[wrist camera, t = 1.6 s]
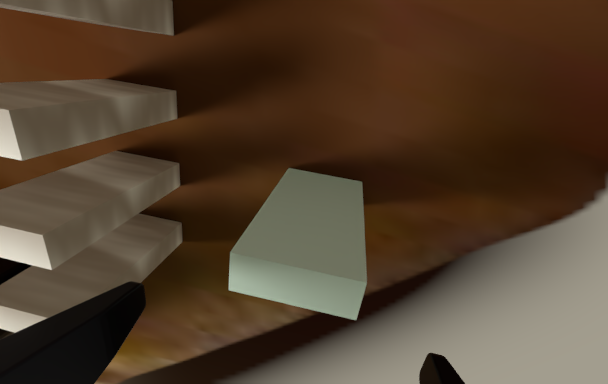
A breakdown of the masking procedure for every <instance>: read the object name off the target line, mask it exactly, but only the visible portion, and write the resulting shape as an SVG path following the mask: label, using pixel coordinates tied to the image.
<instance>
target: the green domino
mask: <svg viewBox="0 0 608 384" xmlns="http://www.w3.org/2000/svg"><path fill="white" fill-rule="evenodd" d="M366 285H367V272H366V251H365V229H364V208H363V186H362V182H361V181H356V180H350V179H345V178H340V177H334V176H329V175H324V174H319V173H313V172H308V171H303V170H297V169H292V168H288V170H287V171H286V173H285V174H284V176H283V177H282V178H281V180H280V181H279V183H278V184H277V186H276V187H275V188H274V190H273V191H272V193H271V194H270V196H269V197H268V199H267V200H266V201H265V203H264V204H263V206H262V207H261V209H260V210H259V211H258V213H257V214H256V216H255V217H254V219H253V220H252V222H251V223H250V224H249V226H248V227H247V229H246V230H245V232H244V233H243V234H242V236H241V237H240V239H239V240H238V242H237V243H236V244H235V246H234V247H233V249H232V250H231V252H230V266H229V290H230V291H234V292H238V293H243V294H247V295H251V296H255V297H259V298H264V299H268V300H272V301H276V302H281V303H285V304H289V305H293V306H298V307H302V308H306V309H310V310H315V311H319V312H323V313H327V314H332V315H336V316H340V317H345V318H349V319H353V320H356V319H357V316H358V312H359V309H360V305H361V302H362V298H363V295H364V291H365V288H366Z"/></svg>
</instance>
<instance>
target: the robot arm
mask: <svg viewBox="0 0 608 384" xmlns="http://www.w3.org/2000/svg"><path fill="white" fill-rule="evenodd" d="M31 266H32V265H29V264H25V263H21V262H17V261H13V260H9V259H5V258H1V257H0V285H1V284H3V283H4V282H6V281H8V280H9V279H11V278H13V277H14V276H16V275H18V274H19V273H21V272H23V271H24V270H26V269H27V268H29V267H31ZM145 305H146V298H145V289H144V285H143V284H142V283H138V282H134V281H129V282H126V283H124V284H122V285H120V286H117V287H115V288H113V289H111V290H109V291H106V292H104V293H102V294H100V295H97V296H95V297H93V298H91V299H89V300H86V301H84V302H82V303H80V304H78V305H75V306H73V307H71V308H69V309H66V310H64V311H62V312H60V313H58V314H55V315H53V316H51V317H49V318H46V319H44V320H42V321H40V322H38V323H35V324H33V325H31V326H29V327H27V328H24V329H22V330H20V331H18V332H15V333H14V332H10V331H7V330H3V329H0V384H94V383H95V382H96V380H97V379H98V378H99V376H100V375H101V374H102V373H103V371H104V370H105V369H106V367H107V366H108V365H109V363H110V362H111V360H112V359H113V358H114V356H115V355H116V353H117V352H118V350H119V349H120V347H121V346H122V344H123V342H124V341H125V339H126V338H127V336H128V334H129V333H130V331H131V330H132V328H133V326H134V325H135V323H136V322H137V320H138V318H139V317H140V315H141V314H142V312H143V310H144V308H145ZM419 380H420V384H465V383H464V382H463V380H462V379H461V378H460V376H459V375H458V374H457V373H456V371H455V370H454V368H453V367H452V366H451V364H450V363H449V362H448V361H447V359H446V358H445V357H444V356H442V355H438V354H434V353H429V354H428V355H427V357H426V359H425V361H424V364H423V366H422V368H421V370H420V378H419Z"/></svg>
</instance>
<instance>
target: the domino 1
mask: <svg viewBox="0 0 608 384" xmlns="http://www.w3.org/2000/svg"><path fill="white" fill-rule="evenodd" d="M0 7H2V8H7V9H13V10H19V11H25V12H30V13H36V14H42V15H47V16H53V17H59V18H65V19H70V20H76V21H82V22H88V23H93V24H99V25H106V26H112V27H119V28H126V29H133V30H139V31H146V32H153V33H160V34H166V35H173V36H174V24H173V1H172V0H0Z"/></svg>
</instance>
